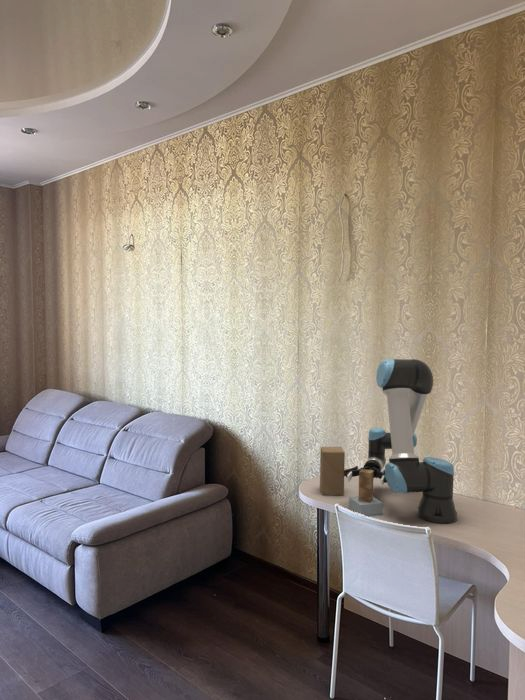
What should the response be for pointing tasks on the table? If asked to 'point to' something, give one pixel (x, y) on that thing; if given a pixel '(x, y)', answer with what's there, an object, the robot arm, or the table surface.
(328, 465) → the wooden block
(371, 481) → the walnut block
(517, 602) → the table surface
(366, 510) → the grey base block
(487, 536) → the table surface
